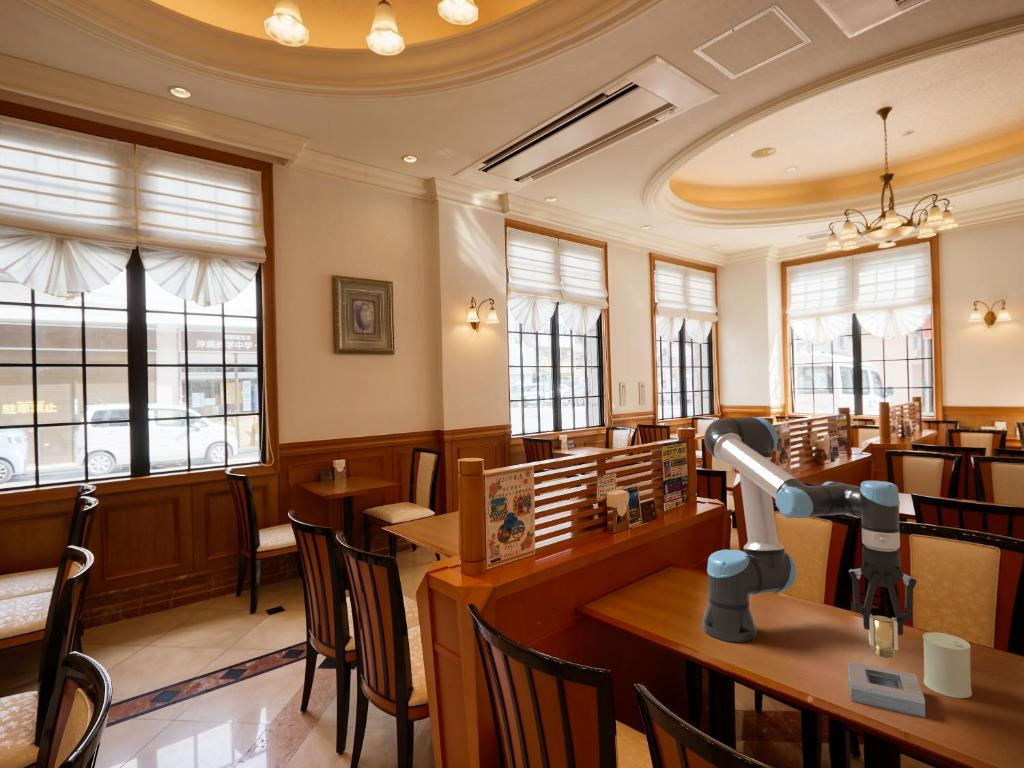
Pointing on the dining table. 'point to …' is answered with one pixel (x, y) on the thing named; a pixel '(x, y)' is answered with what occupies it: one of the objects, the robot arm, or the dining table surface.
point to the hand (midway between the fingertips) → (883, 645)
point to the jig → (886, 689)
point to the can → (947, 665)
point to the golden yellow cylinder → (883, 637)
